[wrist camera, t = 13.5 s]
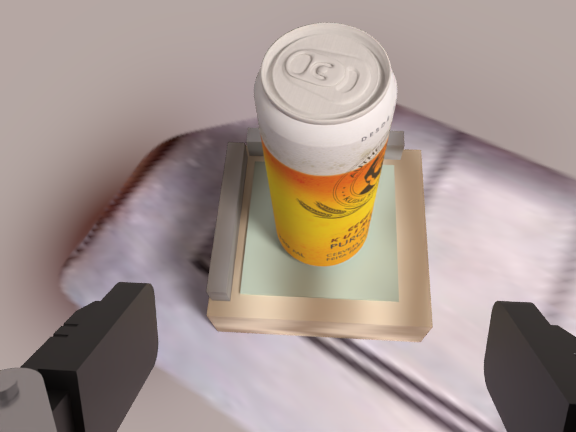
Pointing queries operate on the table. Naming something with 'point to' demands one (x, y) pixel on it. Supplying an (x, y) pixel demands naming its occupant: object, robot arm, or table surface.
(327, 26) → the beer can
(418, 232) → the square tray
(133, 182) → the table surface
